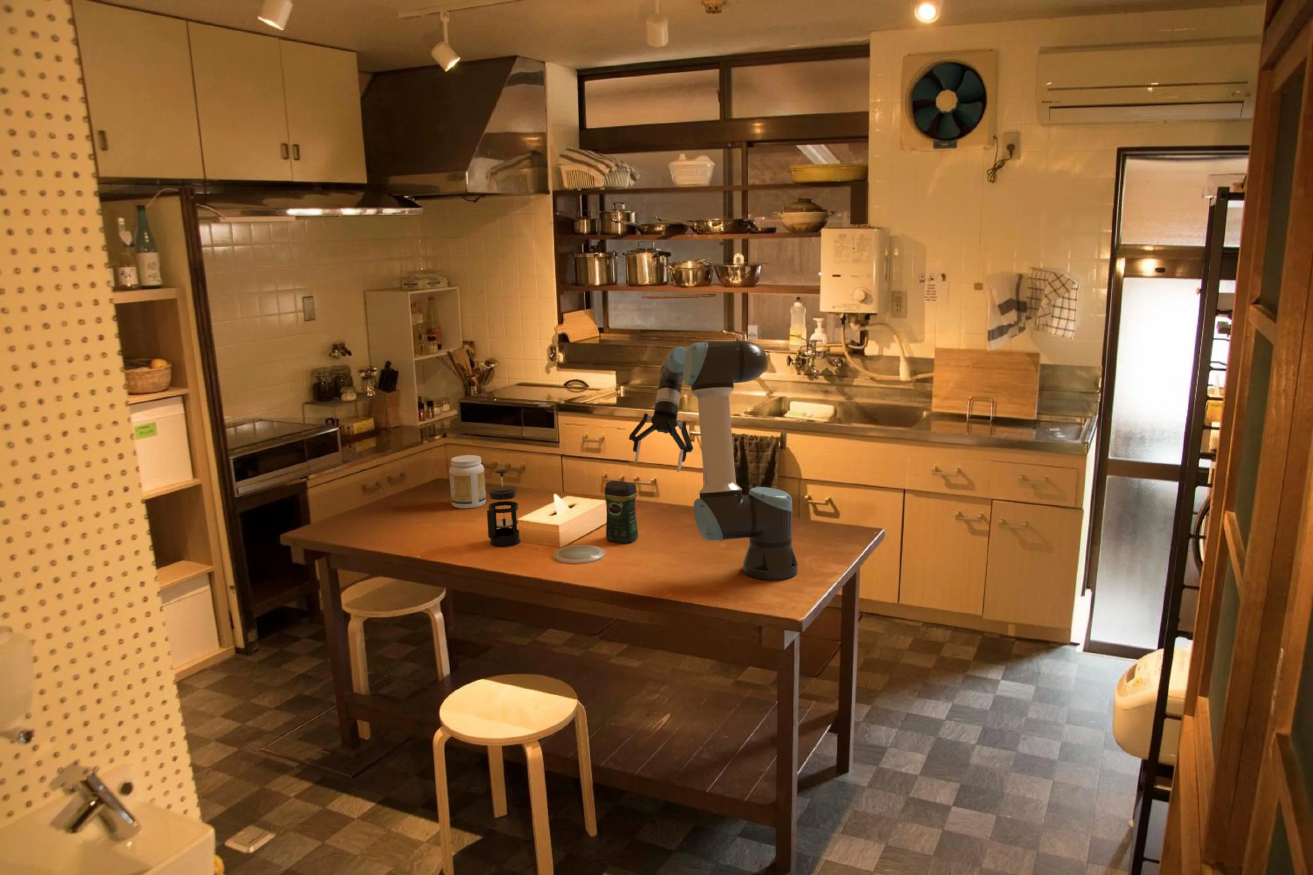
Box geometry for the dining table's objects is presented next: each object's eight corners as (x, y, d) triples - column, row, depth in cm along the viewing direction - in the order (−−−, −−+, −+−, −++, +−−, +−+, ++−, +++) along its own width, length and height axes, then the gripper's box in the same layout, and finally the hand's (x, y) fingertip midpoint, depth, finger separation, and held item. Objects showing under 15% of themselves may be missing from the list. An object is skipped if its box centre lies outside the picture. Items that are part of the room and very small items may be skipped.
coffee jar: (642, 538, 296) (640, 480, 292) (628, 545, 289) (627, 486, 285) (615, 534, 301) (614, 477, 297) (601, 541, 294) (600, 482, 290)
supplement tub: (475, 498, 346) (473, 452, 342) (492, 504, 336) (490, 458, 333) (445, 504, 338) (442, 458, 335) (461, 511, 329) (458, 463, 325)
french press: (505, 535, 301) (502, 464, 297) (528, 540, 296) (524, 468, 291) (479, 545, 292) (475, 472, 287) (502, 550, 287) (498, 476, 282)
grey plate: (610, 560, 276) (610, 557, 276) (559, 566, 272) (559, 563, 271) (597, 545, 290) (597, 542, 290) (548, 550, 286) (548, 547, 285)
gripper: (702, 418, 308) (693, 478, 299) (627, 402, 306) (616, 462, 297) (707, 408, 302) (699, 469, 293) (630, 392, 299) (619, 453, 290)
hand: (657, 465), depth 295 cm, fingers open, 13 cm apart
